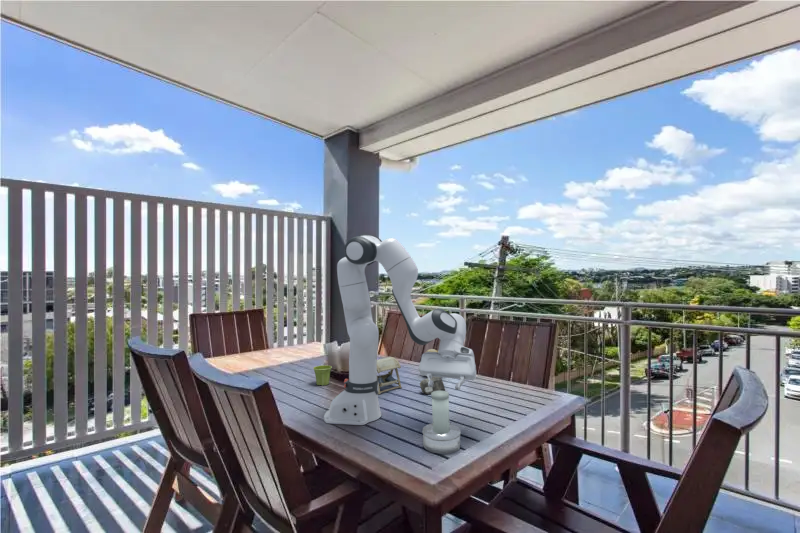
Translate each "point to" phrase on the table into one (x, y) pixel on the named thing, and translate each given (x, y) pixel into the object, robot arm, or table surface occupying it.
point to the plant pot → (322, 374)
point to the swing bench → (387, 379)
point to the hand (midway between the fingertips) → (443, 387)
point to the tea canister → (440, 411)
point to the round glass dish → (441, 440)
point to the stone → (436, 387)
